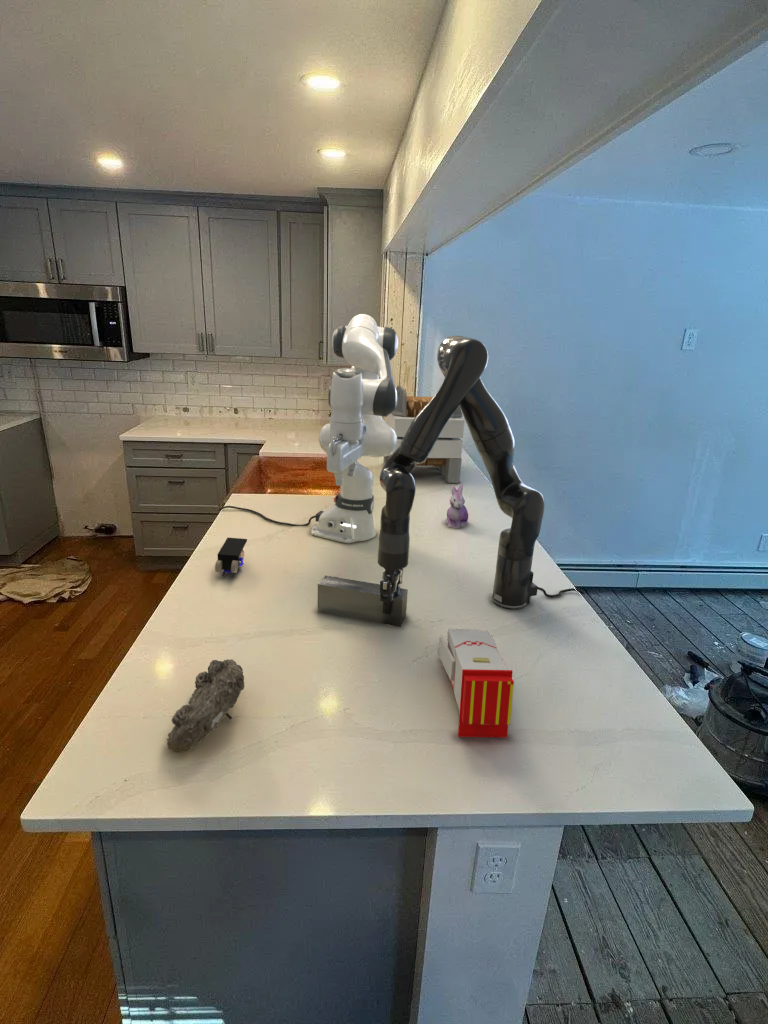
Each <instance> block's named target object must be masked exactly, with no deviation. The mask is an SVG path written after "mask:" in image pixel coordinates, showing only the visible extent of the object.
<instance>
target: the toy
mask: <svg viewBox="0 0 768 1024" xmlns="http://www.w3.org/2000/svg"><path fill="white" fill-rule="evenodd" d="M446 640H447V643H446V641H445V639H444V636H443V635H442V634H439V637H438V646H437V656H438V657H439V659H440V661H441V663H442V666H443V668H444V670H445V672H446V674H447V677H448V679H449V681H450V684H451V687H452V690H453V693H454V697H455V701H456V705H457V708H458V711H459V714H458V715H459V716H458V730H457V731H458V732H457V737H458V738H508V731H509V726H510V725H511V717H512V707H513V697H514V696H513V695H514V684H515V680H514V679H513V673H514V671H513V670H512V669H508V667H507V665H506V662H505V661H504V659H503V658H502V655H501V653H500V651H499V649H498V647H497V643H496V639H495V637H494V635H493V634H491V632H490V631H489V629H467V628H466V629H465V628H463V629H461V628H460V629H459V628H448V630H447V639H446Z"/></svg>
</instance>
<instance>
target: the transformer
mask: <svg viewBox="0 0 768 1024" xmlns="http://www.w3.org/2000/svg"><path fill="white" fill-rule="evenodd" d="M395 388H396V391H397V405H396V408H395V410H394V411H393V412H392V413H391V414H389V415H388V416H386V417H385V422H386V423H387V424H388V425H389V426H390V427H392V428H393V430H394V431H395V433H396V435H397V446H396V449H395V450H394V452H395V451H396V450H397V449H398V447H399V446H400V444H401V442H402V440H403V438H404V436H405V434H406V432H407V430H408V428H409V427H410V425H411V423H412V421H413V420H414V419H415V417H416V416H417V415H418V413H419V412H420V411H421V410H422V409H423V408H424V407H425V406H426V405H427V404H428V403H429V402H430V400H431V399H432V398H433V397H434V396H415V395H414V396H413V395H412V396H411V395H407V394H408V393H407V390H406V389H404V388H403V387H402V385H399V384H398V385H397V386H396V387H395ZM465 422H466V421H465V418H463V413H462V411H461V408H460V405H459V406H458V407H457V408H456V410H455V411H454V413H453V414H452V416H451V417H450V419H449V420H448V422H447V423H446V425H445V426H444V428H443V430H442V431H441V433H440V435H439V437H438V439H437V441H436V442H435V444H434V446H433V448H432V450H431V452H430V453H429V455H428V457H427V459H426V460H425V461H424V462H423V463H420V464H417V465H416V467H417V466H418V467H436V468H437V470H438V469H439V473H440V474H441V475H443V478H444V479H445V481H446V482H447V483H449V484H455V483H456V484H459V483H461V472H462V461H463V460H462V453H463V442H464V441H463V440H462V439H463V438H464V431H465V430H464V429H465ZM394 452H393V453H394ZM393 453H392V454H393ZM392 454H391V455H390V456H384V457H383V466H384V465H385V464H386V462H387V461H388V460H389V458H390V457H391V456H392Z"/></svg>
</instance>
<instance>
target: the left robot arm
mask: <svg viewBox="0 0 768 1024" xmlns="http://www.w3.org/2000/svg"><path fill="white" fill-rule="evenodd" d="M331 347H332V350H333V353H334V354H335V356H336V357H338V358H342V359H344V360H345V361H346V363H347V364H349V365H350V366H351V367H341V368H337V369H336V370H334V371H333V373H332V377H331V382H330V383H331V384H330V386H329V387H328V406H329V407H330V408H331V409H330V410H331V413H330V417H329V423H325V424H324V425H323V426H322V427H321V429H320V431H319V435H318V442H319V446H320V448H321V450H323V452H324V453H326V470H327V472H328V473H333V476H334V479H335V481H334V482H335V485H336V486H337V487H340V488H339V489H340V490H339V491H338V492H337V494H336V495H335V496H334V497H333V502H334V504H333V505H331V506H329V507H328V508H326V509H325V510H320V511H318V512H316V513H315V515H313V516H310V517H309V519H308V522H307V523H303V524H295V523H291V522H290V523H289V522H282V521H279V520H274V519H271V518H268V517H267V516H265V515H264V514H262V513H261V512H258V511H256V510H253V509H249V508H246V507H239V506H233V505H225V506H221V507H220V508H219V509H218V511H219V512H220V511H222V510H224V509H236V510H240V511H246V512H249V513H254V514H256V515H258V516H260V517H261V518H263V519H264V520H266V521H268V522H271V523H274V524H279V525H284V526H291V527H308V526H309V525H310V524H311V523H312V520H313V519H315V522H317V523H315V524H314V525H313V526H312V528H311V530H310V533H311V536H315V537H319V538H323V539H326V540H330V541H336V542H339V543H343V544H352V543H357V542H365V541H368V540H372V539H373V538H375V537H376V535H377V532H376V528H375V523H374V513H373V512H374V509H375V496H374V474H373V472H372V471H371V469H369V468H368V467H366V466H365V465H363V464H362V463H360V462H359V461H358V460H360V459H361V458H362V457H363V458H384V456H390V455H391V454H392V453H393V452H394V450H395V449H396V446H397V435H396V433H395V431H394V430H393V428H392V427H390V426H389V425H388V424H387V423H386V420H384V418H386V416H388V415H389V414H391V413H392V412H393V411H394V410H395V408H396V405H397V391H396V388H397V387H396V384H395V381H394V376H393V370H392V365H391V360H393V358H394V357H395V356H396V353H397V352H398V349H399V337H398V334H397V332H396V330H395V329H394V328H391V327H388V326H384V327H383V326H378V324H377V321H376V320H375V318H373V317H372V316H371V315H369V314H366V313H359V314H356V315H355V316H353V317H352V318H351V319H350V321H349V322H348V324H343V325H340V326H337V327H336V328H335V329H334V330H333V334H332V337H331ZM383 417H384V418H383Z"/></svg>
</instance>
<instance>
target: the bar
mask: <svg viewBox="0 0 768 1024" xmlns="http://www.w3.org/2000/svg"><path fill="white" fill-rule="evenodd" d="M391 589H393V587H391ZM408 591H409V590H408V588H403V587H400V588H396V592H394V594H393V601H392V613H391V614H390V615H389V614H384V613H383V602H382V601H380V583H379V584H378V583H373V582H368V581H361V580H356V579H350V578H343V577H339V576H338V577H337V576H333V575H327V574H326V575H324V576H323V577H322V579H321V580H319V582H318V583H317V612H318V613H323V614H329V615H335V616H338V617H339V616H340V617H344V618H350V619H355V620H360V621H366V622H372V623H377V624H381V625H386V626H387V625H388V626H391V627H398V628H402V625H403V624H404V622H405V619H406V617H407V610H408V609H407V608H408V607H407V606H408V594H409V593H408ZM386 596H387V595H386Z"/></svg>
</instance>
